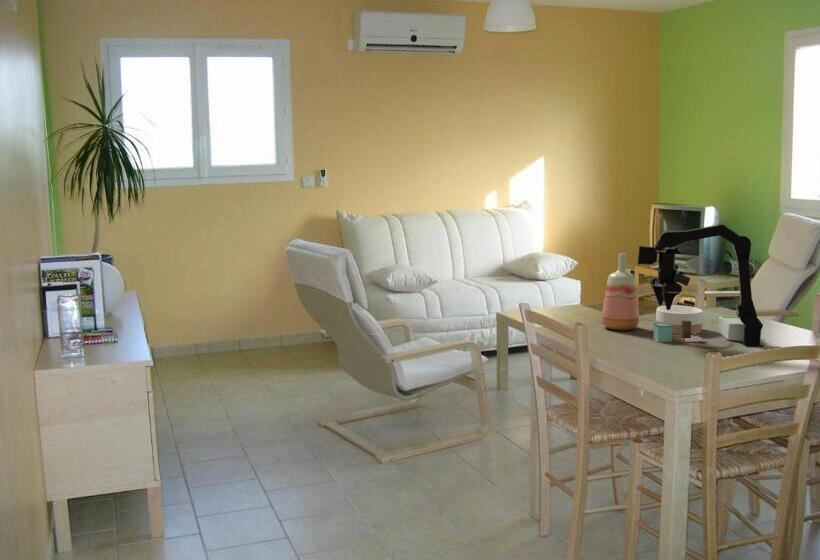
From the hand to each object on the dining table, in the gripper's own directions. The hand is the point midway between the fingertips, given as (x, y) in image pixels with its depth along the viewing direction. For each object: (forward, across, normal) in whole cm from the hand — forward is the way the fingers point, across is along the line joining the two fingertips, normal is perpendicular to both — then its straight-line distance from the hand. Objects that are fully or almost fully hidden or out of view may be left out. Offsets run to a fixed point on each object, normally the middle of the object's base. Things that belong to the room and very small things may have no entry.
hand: (664, 307), depth 325 cm
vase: (+13, +22, +10) cm, 27 cm away
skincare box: (+9, +13, -30) cm, 33 cm away
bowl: (+13, +18, -12) cm, 25 cm away
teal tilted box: (+12, 0, 0) cm, 12 cm away
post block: (+12, +1, -9) cm, 15 cm away
